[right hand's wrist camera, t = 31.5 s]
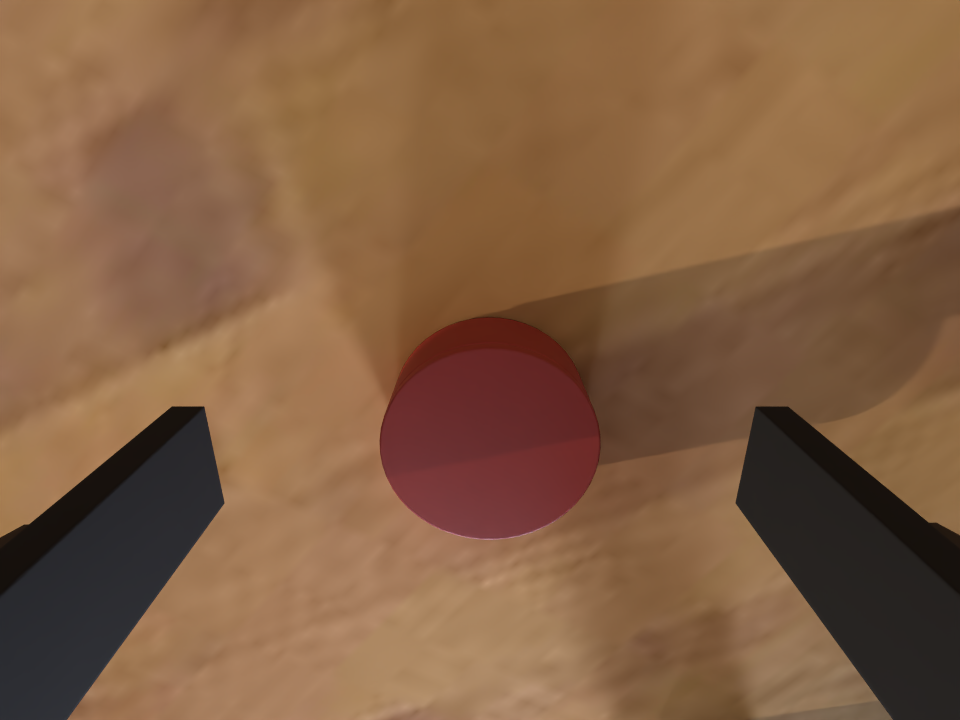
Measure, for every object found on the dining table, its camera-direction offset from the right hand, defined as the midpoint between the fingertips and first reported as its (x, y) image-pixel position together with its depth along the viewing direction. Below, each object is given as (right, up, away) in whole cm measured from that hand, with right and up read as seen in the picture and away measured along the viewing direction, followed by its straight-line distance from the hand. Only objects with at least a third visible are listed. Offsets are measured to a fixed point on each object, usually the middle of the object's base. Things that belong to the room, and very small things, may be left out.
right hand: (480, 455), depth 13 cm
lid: (0, 0, 0) cm, 0 cm away
